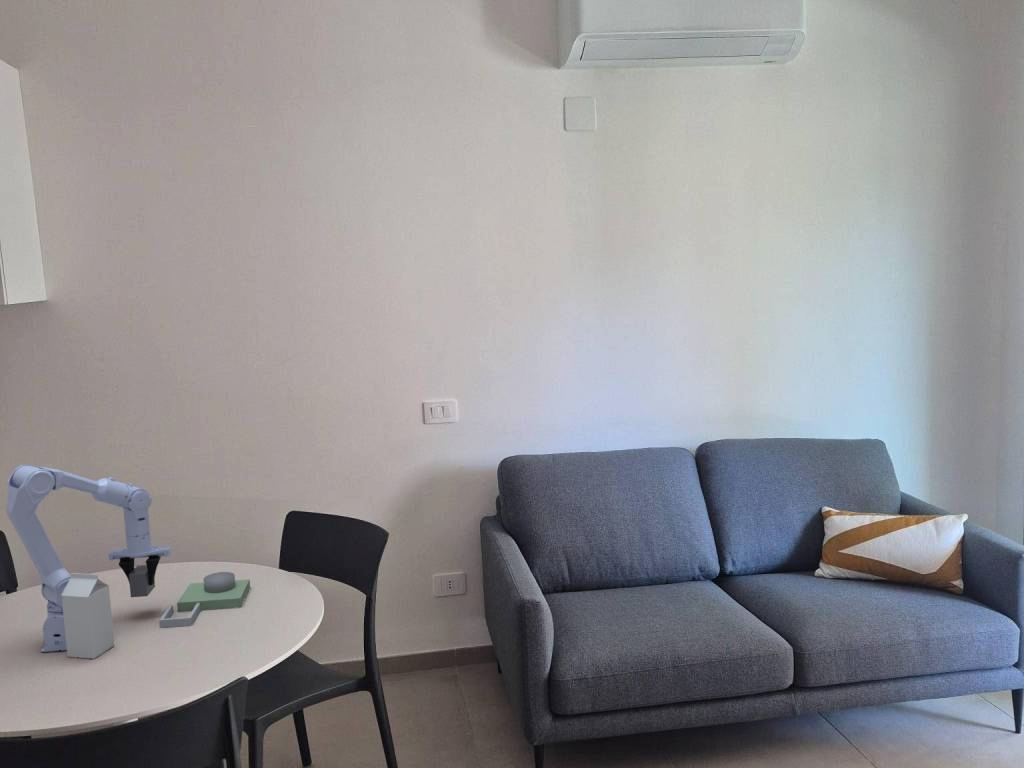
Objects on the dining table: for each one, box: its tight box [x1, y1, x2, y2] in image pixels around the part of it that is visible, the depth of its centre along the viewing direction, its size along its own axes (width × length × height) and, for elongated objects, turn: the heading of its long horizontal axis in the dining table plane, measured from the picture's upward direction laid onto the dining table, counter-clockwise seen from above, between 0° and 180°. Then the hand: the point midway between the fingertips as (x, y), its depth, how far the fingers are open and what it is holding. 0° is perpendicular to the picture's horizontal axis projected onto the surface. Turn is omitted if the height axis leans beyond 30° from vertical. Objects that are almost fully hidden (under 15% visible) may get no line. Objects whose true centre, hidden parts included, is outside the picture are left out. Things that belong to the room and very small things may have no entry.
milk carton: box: [61, 572, 115, 660], centre depth 197 cm, size 7×7×19 cm
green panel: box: [158, 571, 251, 629], centre depth 223 cm, size 24×18×6 cm
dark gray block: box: [128, 564, 156, 598], centre depth 218 cm, size 7×4×6 cm, turn 8°
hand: (142, 584), depth 218 cm, fingers closed on dark gray block, 4 cm apart
